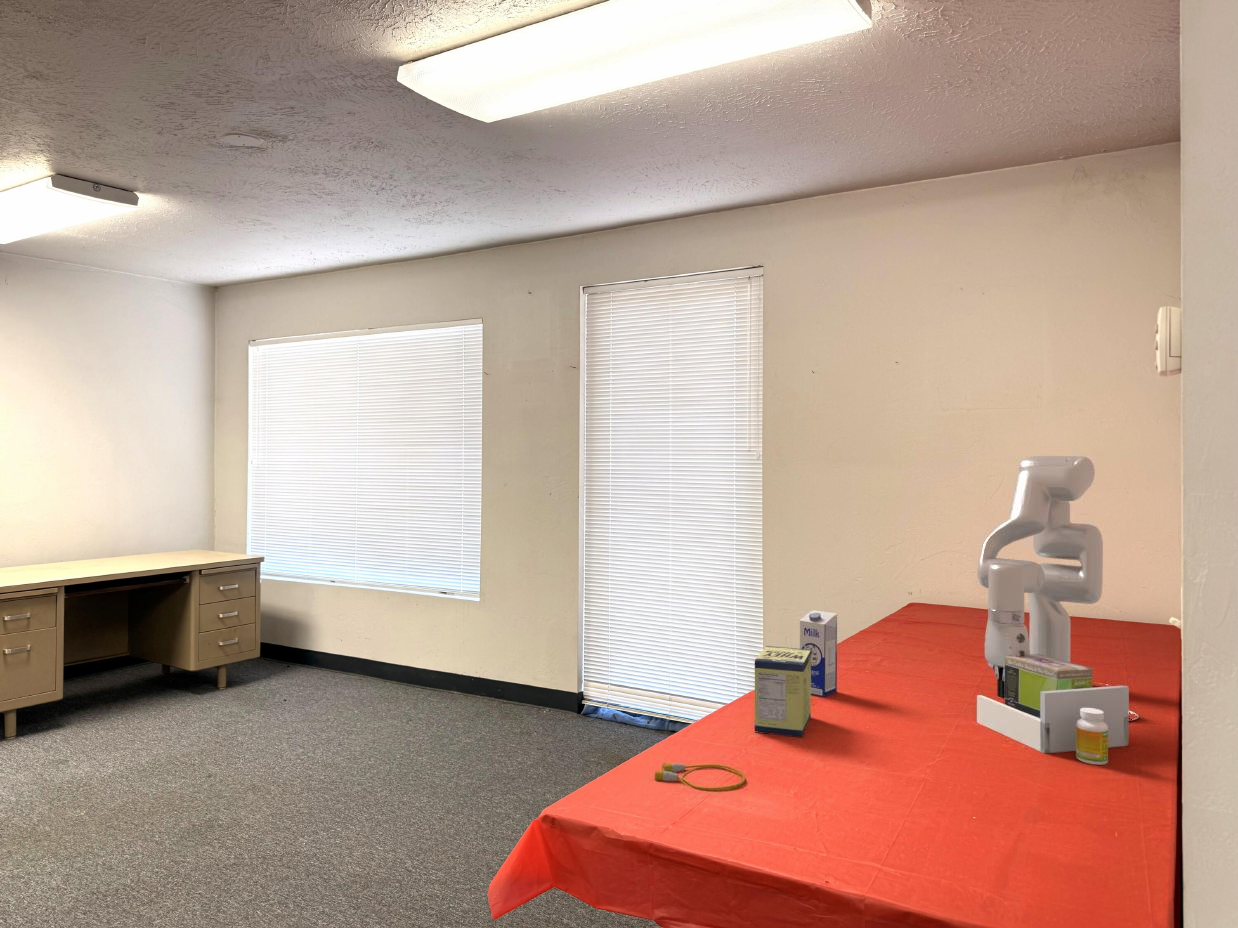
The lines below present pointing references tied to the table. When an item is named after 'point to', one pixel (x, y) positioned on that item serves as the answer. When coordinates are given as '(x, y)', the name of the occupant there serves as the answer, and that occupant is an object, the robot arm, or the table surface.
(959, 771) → the table surface
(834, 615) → the milk carton
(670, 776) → the extension cord
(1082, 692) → the display bay
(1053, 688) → the tea box
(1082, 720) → the supplement bottle
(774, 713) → the protein box
